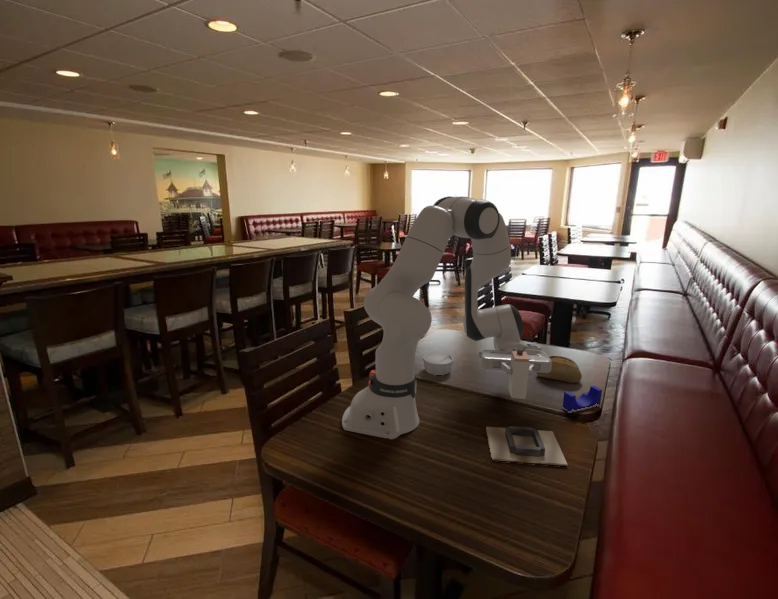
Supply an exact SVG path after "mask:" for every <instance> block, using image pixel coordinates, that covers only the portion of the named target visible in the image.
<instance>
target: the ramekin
mask: <svg viewBox="0 0 778 599" xmlns="http://www.w3.org/2000/svg"><path fill="white" fill-rule="evenodd" d="M422 361H423V367H424V370H425V372H426V371H427V372H428V374H429V373H431V374H434V375H433V376H436V375H442V376H446V375H448V374H449V373H450V372H451V371H452V366H453V363H454V357H453V356H452V355H451V354H448V353H445V352H440V351H439V352H437V351H435V352H434V351H432V352H428V353H427V352H426V353H425V354H424V355H423V356H422ZM427 372H426V373H427ZM431 374H430V375H431ZM445 374H446V375H445Z"/></svg>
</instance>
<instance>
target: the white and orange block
mask: <svg viewBox="0 0 778 599" xmlns="http://www.w3.org/2000/svg"><path fill="white" fill-rule="evenodd" d="M529 364H530V358H529V357H528V355H527V353H526V352H523V350H522V349H517V351H512V353H511V363H510V367H512V374H508V375H509V377H508V384H507V385H508V387H507V390H508V392H509V396H510V398H511V399H519V400H520V399H521V400H523V399H524V400H526V399H527V390H528V384H529V383H528V382H529V376H528V374H529Z"/></svg>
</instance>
